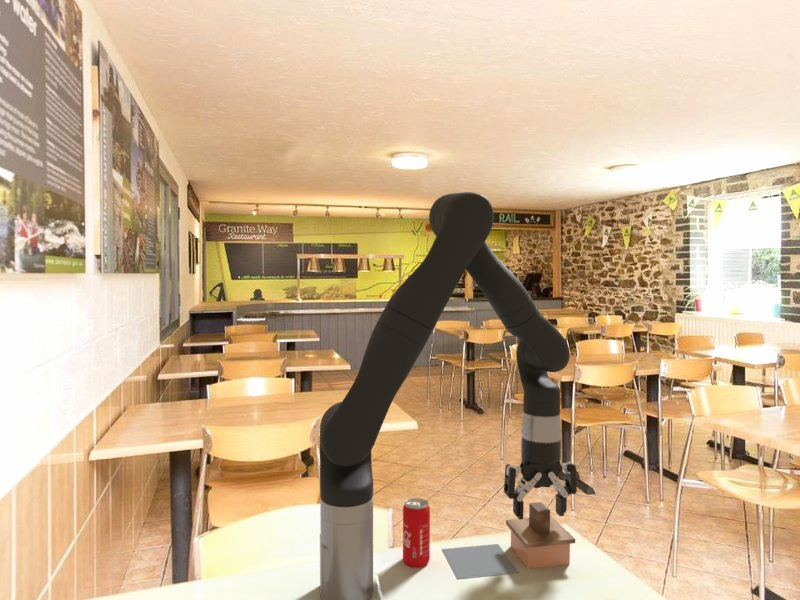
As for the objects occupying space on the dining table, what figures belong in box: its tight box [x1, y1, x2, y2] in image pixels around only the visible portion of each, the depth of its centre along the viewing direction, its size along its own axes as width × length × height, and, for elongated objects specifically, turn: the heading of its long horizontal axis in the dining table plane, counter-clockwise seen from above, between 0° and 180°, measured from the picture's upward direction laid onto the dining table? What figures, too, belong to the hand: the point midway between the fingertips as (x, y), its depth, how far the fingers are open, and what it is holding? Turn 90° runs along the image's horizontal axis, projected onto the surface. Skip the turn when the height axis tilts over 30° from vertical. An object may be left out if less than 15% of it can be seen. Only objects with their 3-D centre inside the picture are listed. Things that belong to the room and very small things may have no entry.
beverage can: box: [402, 497, 431, 569], centre depth 105 cm, size 5×5×12 cm
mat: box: [441, 543, 520, 580], centre depth 106 cm, size 12×11×1 cm
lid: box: [505, 501, 576, 548], centre depth 108 cm, size 10×10×5 cm
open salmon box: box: [510, 530, 571, 569], centre depth 108 cm, size 8×8×5 cm
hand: (539, 516), depth 108 cm, fingers open, 8 cm apart
